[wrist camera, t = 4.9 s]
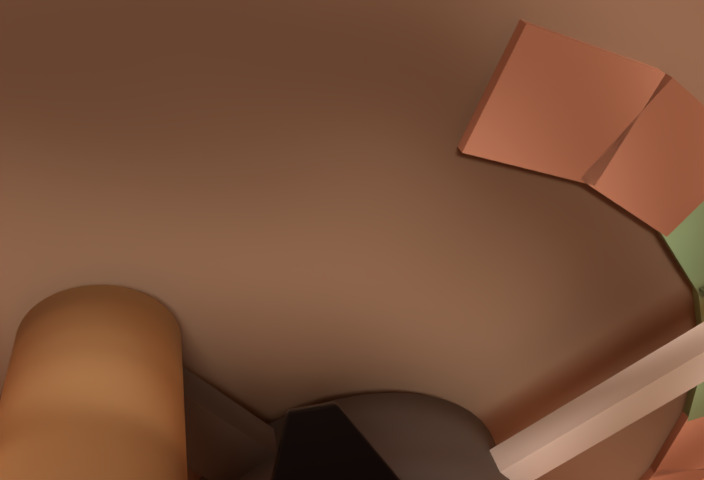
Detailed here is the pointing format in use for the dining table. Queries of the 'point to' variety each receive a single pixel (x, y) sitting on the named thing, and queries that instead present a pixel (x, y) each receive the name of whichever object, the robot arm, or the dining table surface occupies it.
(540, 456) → the peg dial
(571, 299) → the tuner board
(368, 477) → the robot arm
